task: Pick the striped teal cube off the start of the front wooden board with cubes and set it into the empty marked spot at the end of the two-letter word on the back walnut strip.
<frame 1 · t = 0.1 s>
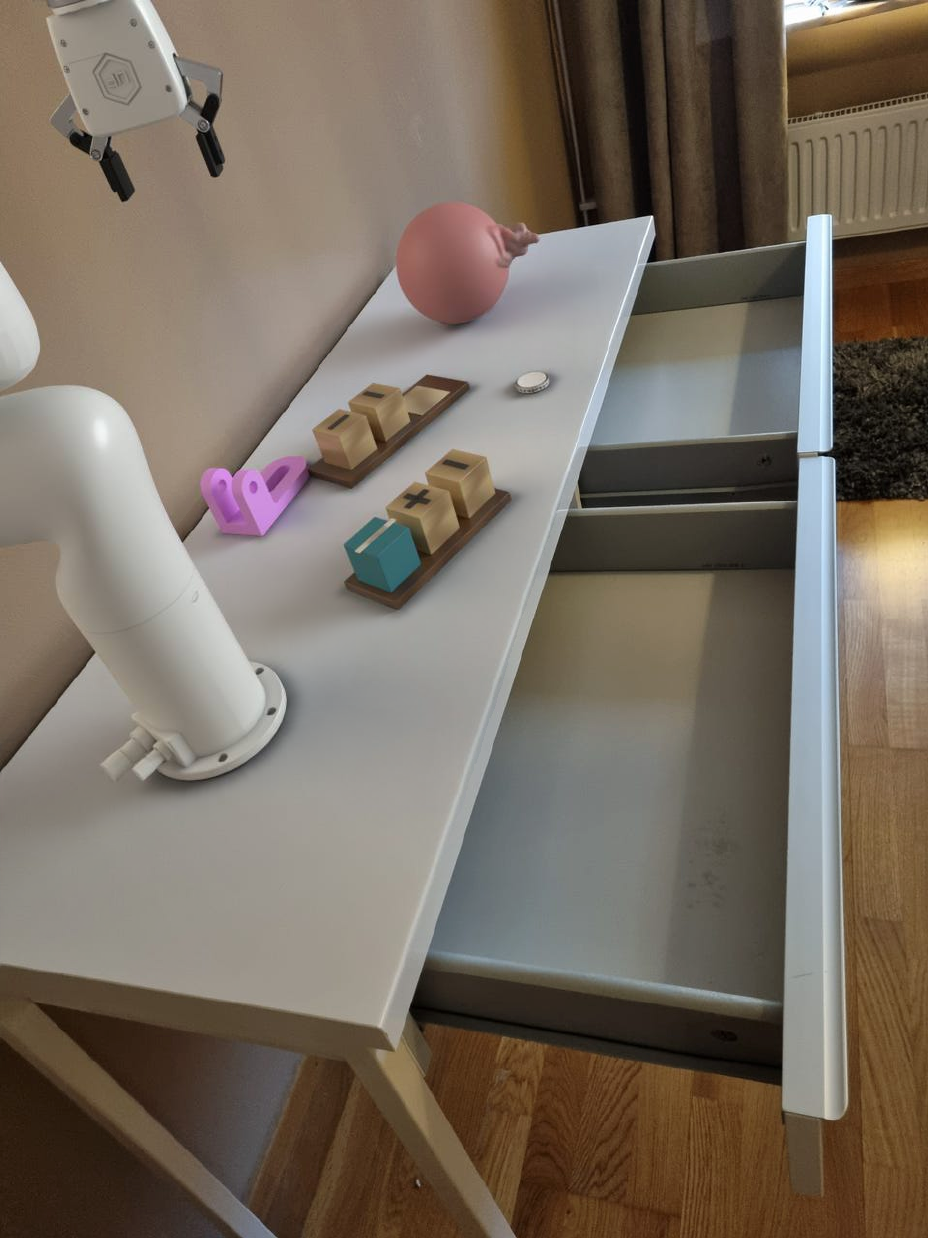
hand: (173, 185, 89), 31 cm above the table, tool pointing down, fingers open, 9 cm apart
striped teal cube: (389, 572, 85), point 1 cm above the table, touching wooden board with cubes
wooden board with cubes: (431, 543, 88), on the table
bracket: (272, 500, 102), on the table
far word: (392, 431, 106), on the table
white flat disc: (533, 385, 107), on the table
balloon: (481, 317, 125), on the table
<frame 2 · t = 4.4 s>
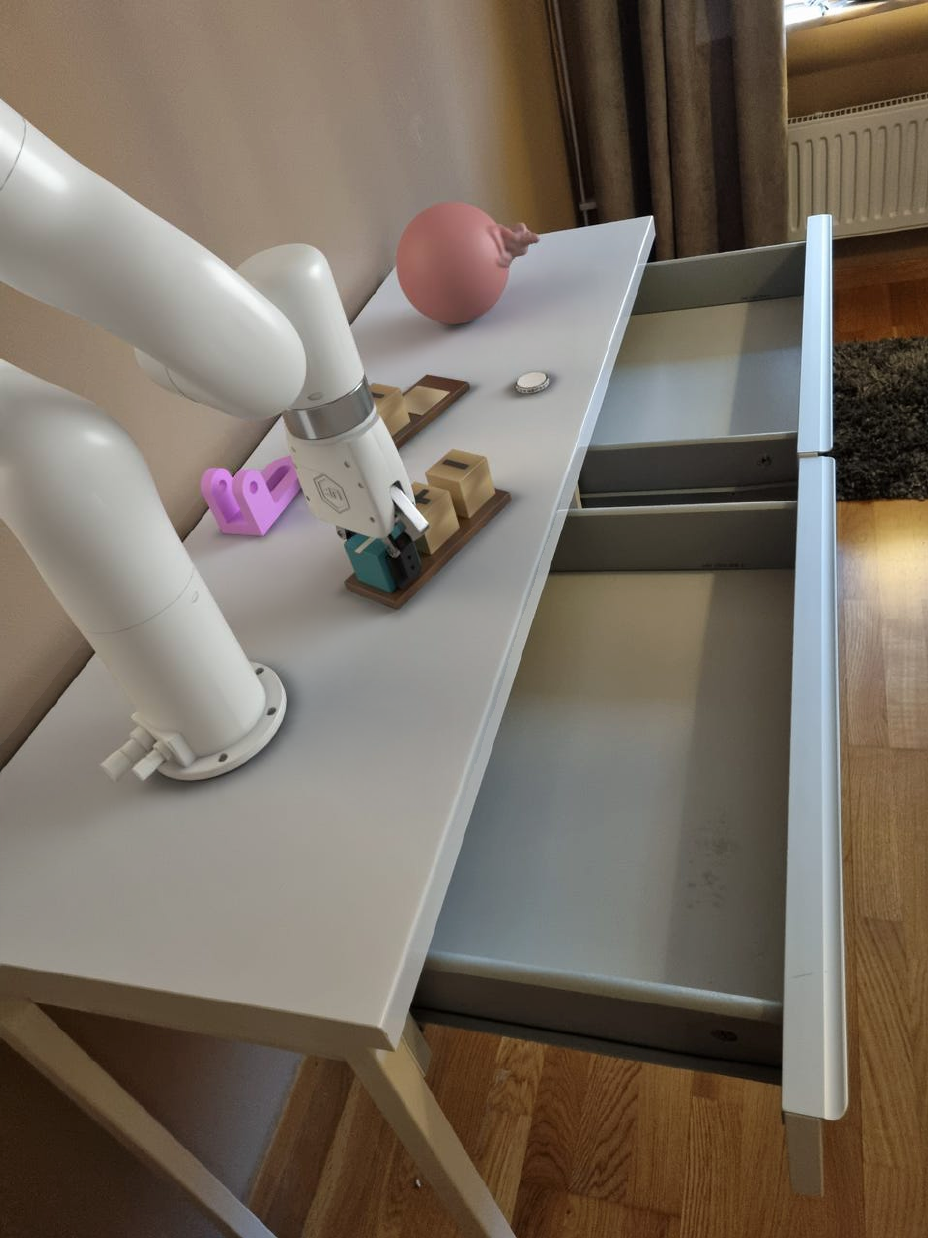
hand: (389, 570, 85), 1 cm above the table, tool pointing down, fingers closed on wooden board with cubes, striped teal cube, 4 cm apart
striped teal cube: (389, 572, 85), point 1 cm above the table, touching gripper, wooden board with cubes
everything else where it was.
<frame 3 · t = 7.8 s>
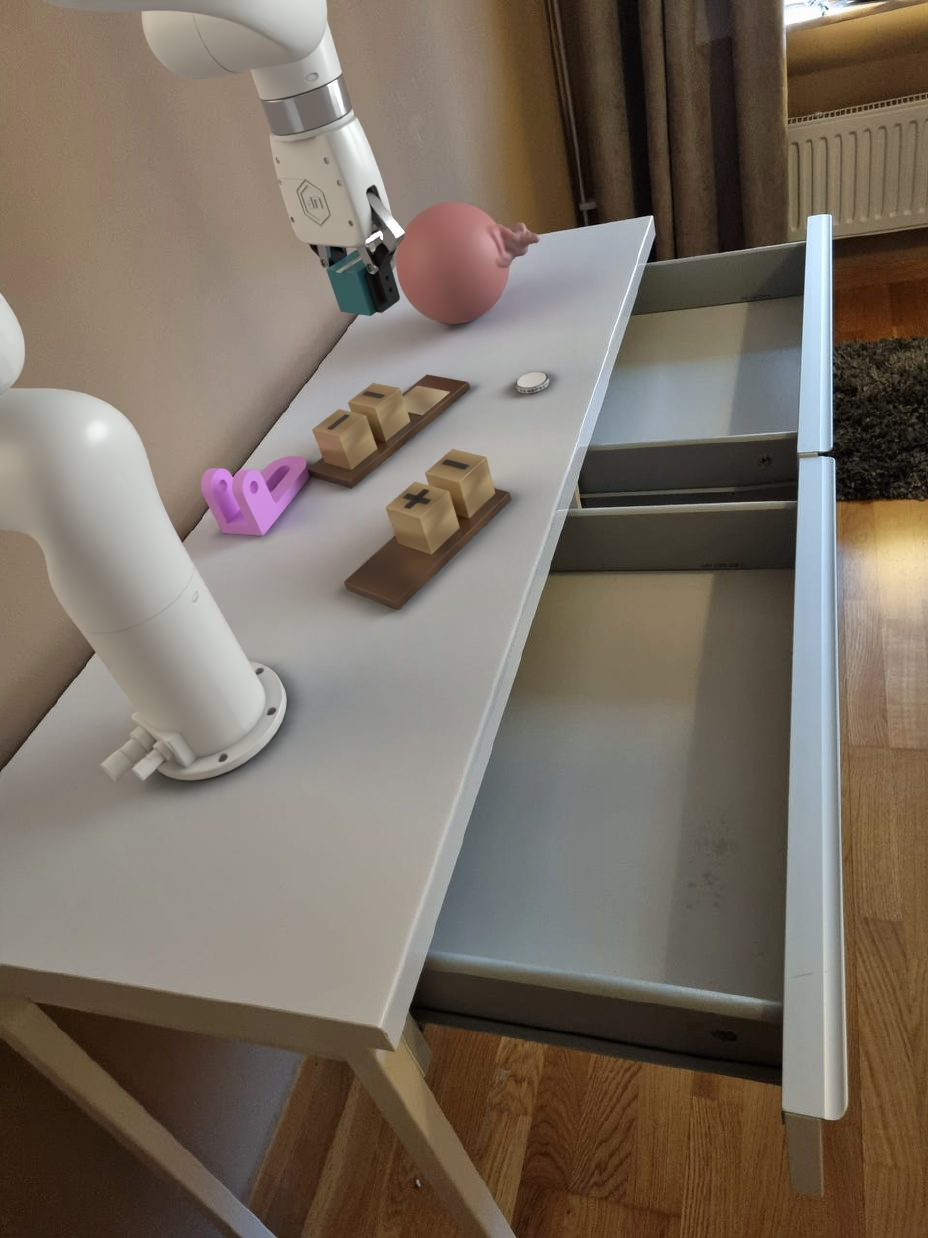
hand: (369, 302, 90), 18 cm above the table, tool pointing down, fingers closed on striped teal cube, 4 cm apart
striped teal cube: (370, 303, 90), point 18 cm above the table, touching gripper
everything else where it was.
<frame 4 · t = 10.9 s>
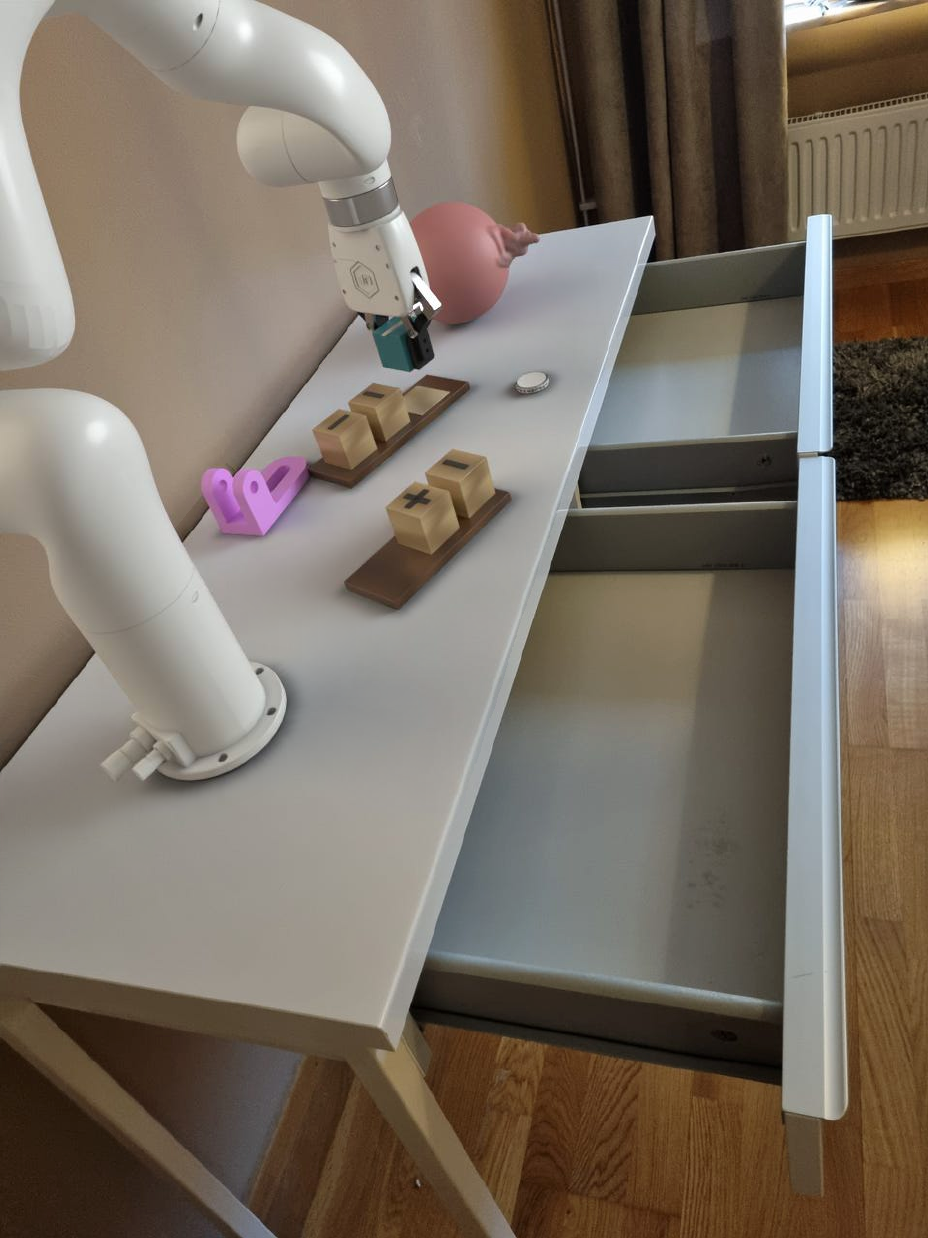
hand: (408, 359, 105), 6 cm above the table, tool pointing down, fingers closed on striped teal cube, 4 cm apart
striped teal cube: (408, 360, 105), point 6 cm above the table, touching gripper
everything else where it was.
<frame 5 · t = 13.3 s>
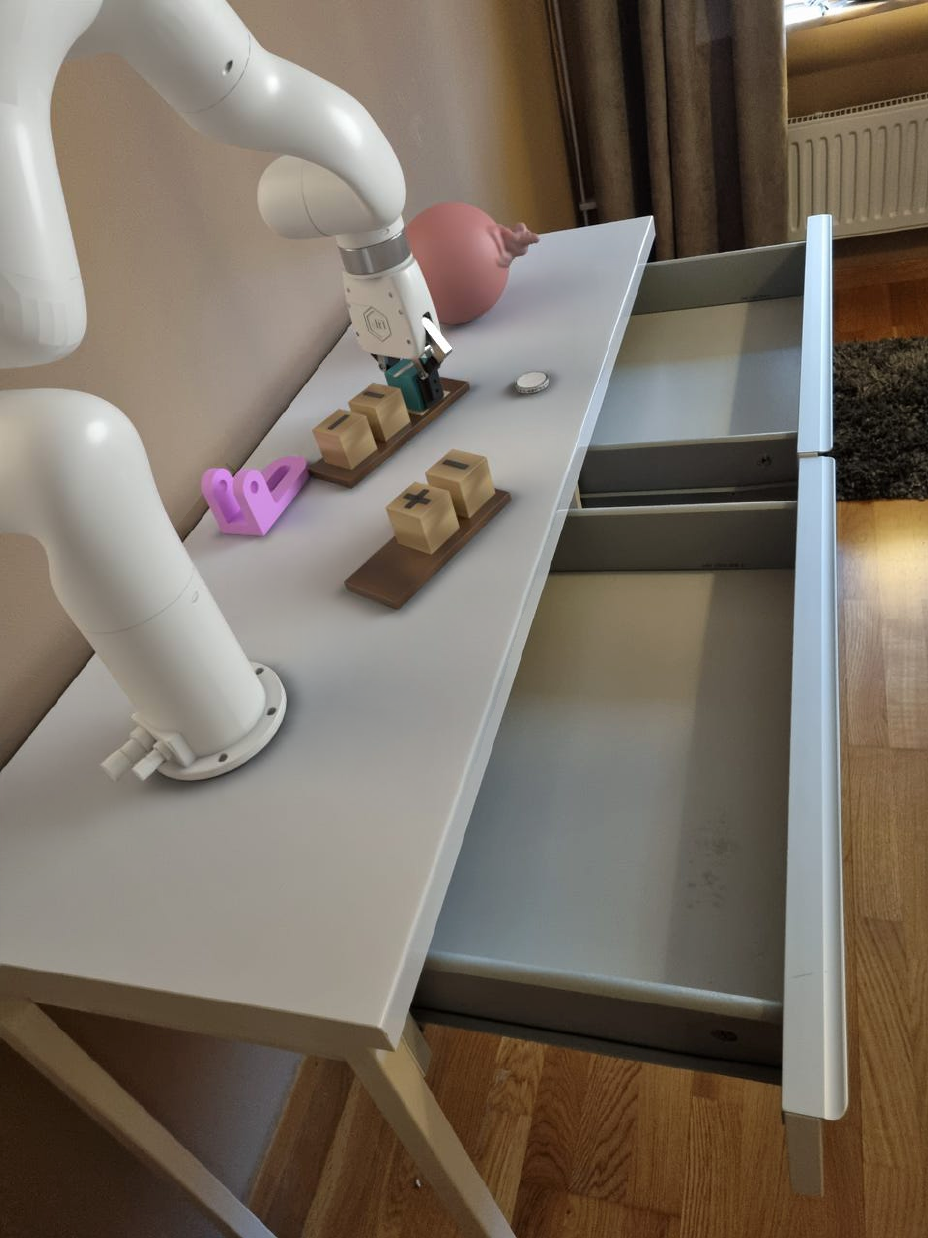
hand: (418, 398, 108), 1 cm above the table, tool pointing down, fingers closed on striped teal cube, 4 cm apart
striped teal cube: (418, 399, 108), point 1 cm above the table, touching gripper
everything else where it was.
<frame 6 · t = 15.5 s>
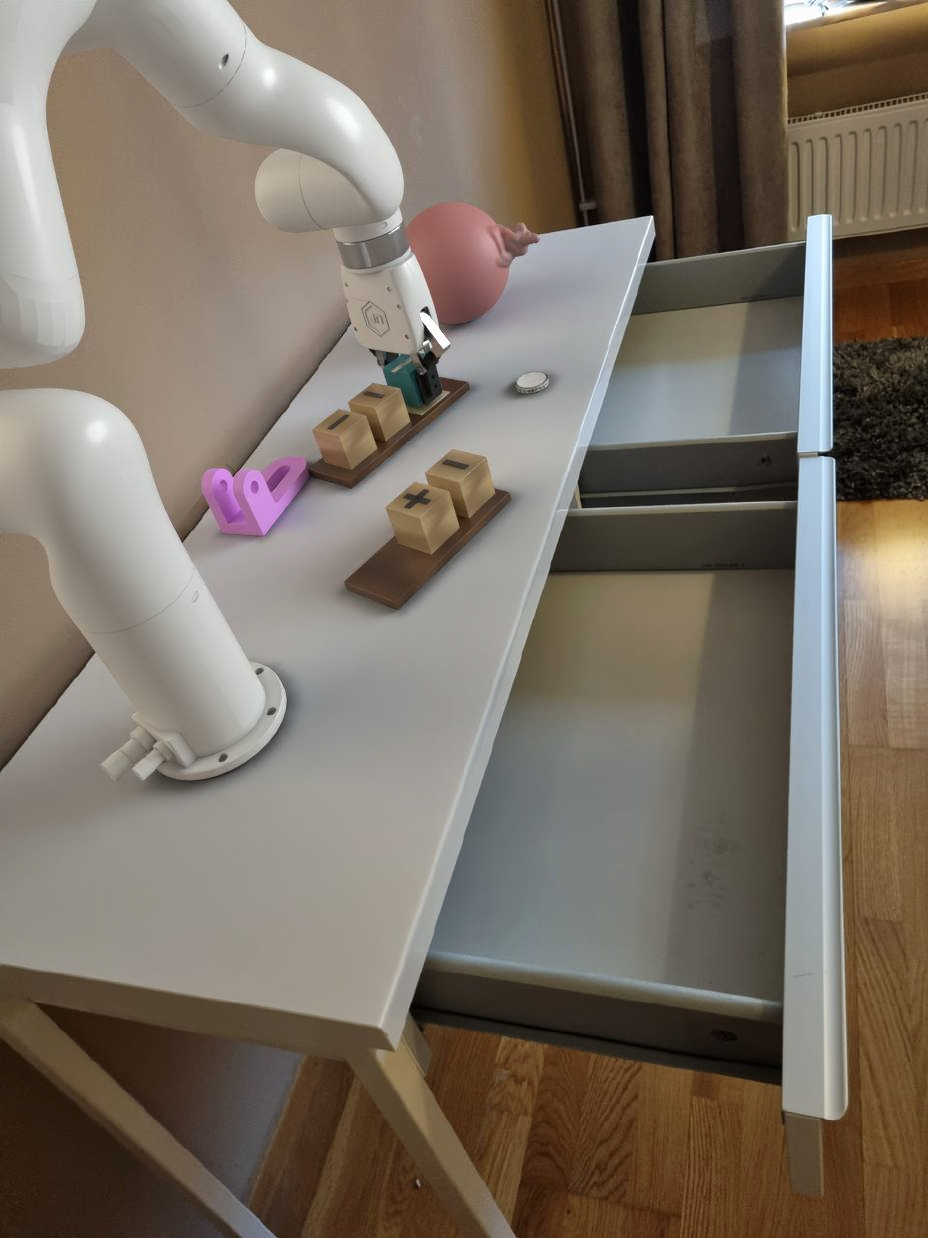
hand: (417, 394, 108), 2 cm above the table, tool pointing down, fingers closed on striped teal cube, 4 cm apart
striped teal cube: (417, 395, 108), point 2 cm above the table, touching gripper
everything else where it was.
when the fingers open (2 cm above the table, at t = 17.5 s): striped teal cube stays where it is, resting on far word.
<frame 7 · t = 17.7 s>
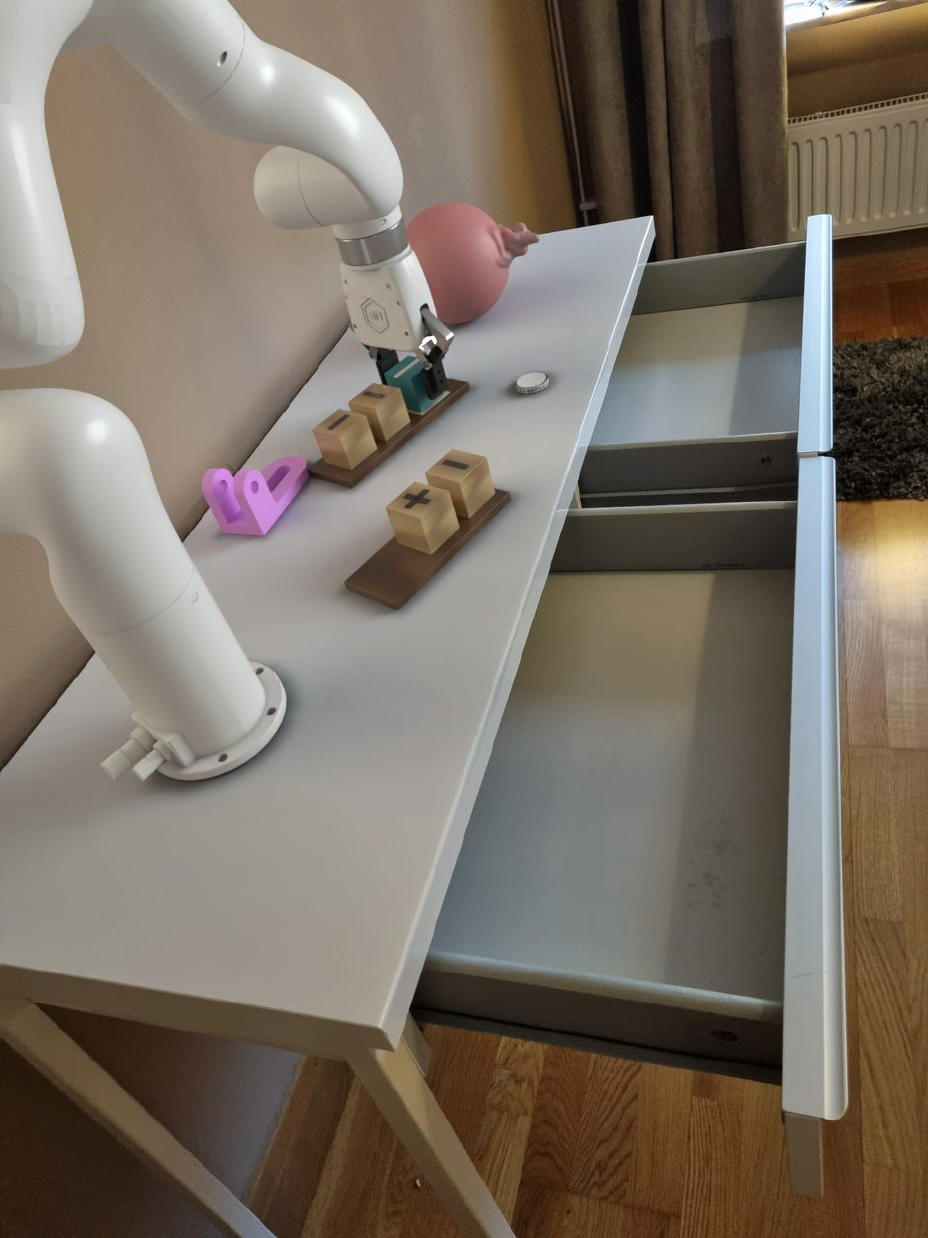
hand: (416, 388, 107), 3 cm above the table, tool pointing down, fingers open, 6 cm apart
striped teal cube: (419, 399, 108), point 1 cm above the table, touching far word
everything else where it was.
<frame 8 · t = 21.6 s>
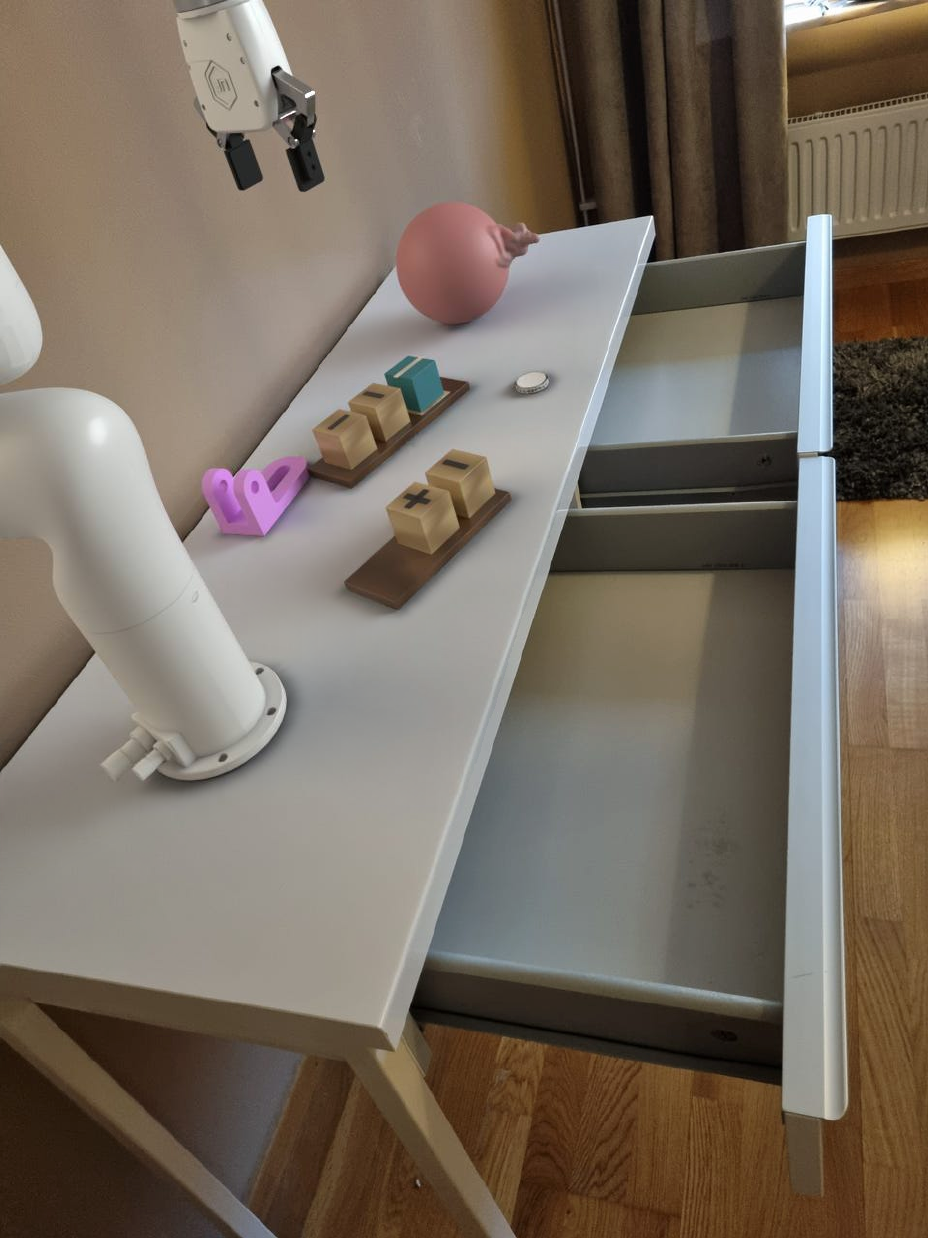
hand: (281, 185, 91), 28 cm above the table, tool pointing down, fingers open, 9 cm apart
nothing on the table moved.
at the end: striped teal cube 0.1 cm from the target spot on the far word, point 1.1 cm above the far word's base; striped teal cube tilted 0°; the gripper is holding nothing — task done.
